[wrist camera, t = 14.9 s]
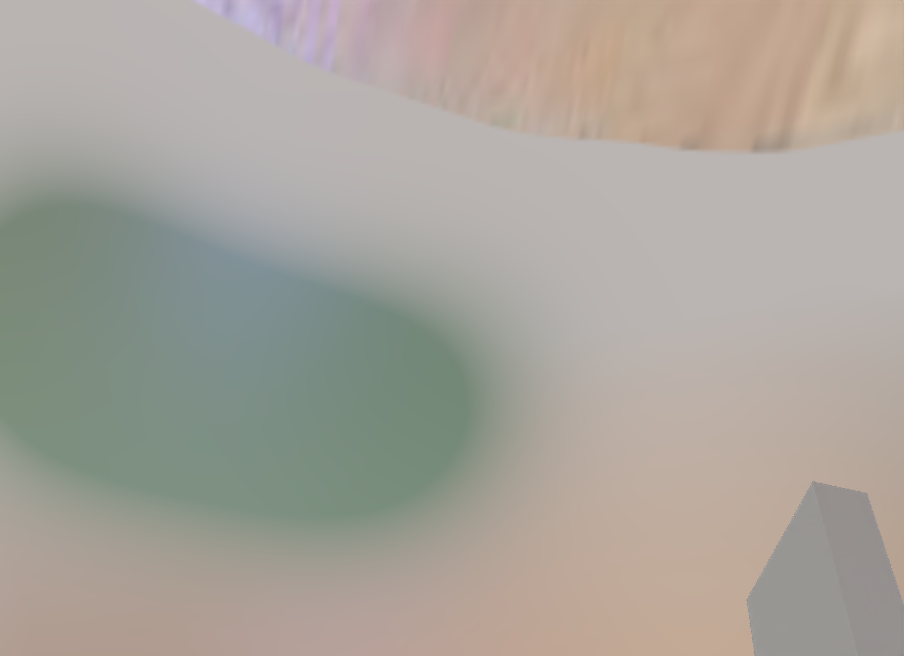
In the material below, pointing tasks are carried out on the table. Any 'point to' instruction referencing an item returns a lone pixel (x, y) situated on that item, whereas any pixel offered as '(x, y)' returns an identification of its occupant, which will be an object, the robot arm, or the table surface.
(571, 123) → the table surface
